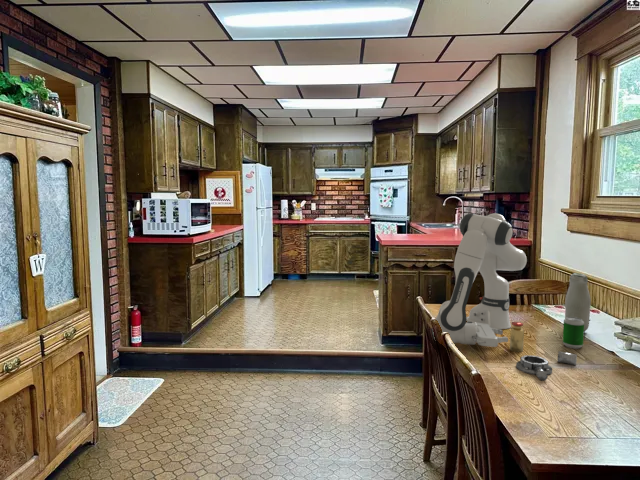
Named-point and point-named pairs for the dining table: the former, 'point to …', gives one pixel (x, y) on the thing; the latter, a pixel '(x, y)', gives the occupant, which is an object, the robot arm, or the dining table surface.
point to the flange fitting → (534, 366)
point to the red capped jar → (516, 337)
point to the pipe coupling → (567, 358)
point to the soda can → (573, 332)
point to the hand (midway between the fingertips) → (505, 335)
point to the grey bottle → (578, 299)
